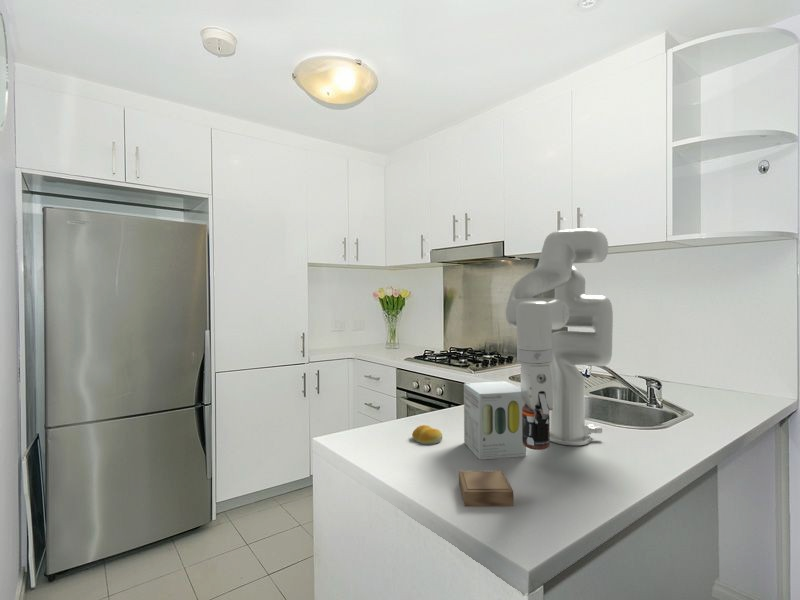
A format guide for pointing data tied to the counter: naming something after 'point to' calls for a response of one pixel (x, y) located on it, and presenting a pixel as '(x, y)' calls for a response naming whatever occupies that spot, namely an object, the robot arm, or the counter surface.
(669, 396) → the counter surface
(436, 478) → the counter surface
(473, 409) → the supplement box
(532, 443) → the supplement bottle
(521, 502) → the counter surface
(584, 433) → the robot arm
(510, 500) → the walnut base
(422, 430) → the bread roll
